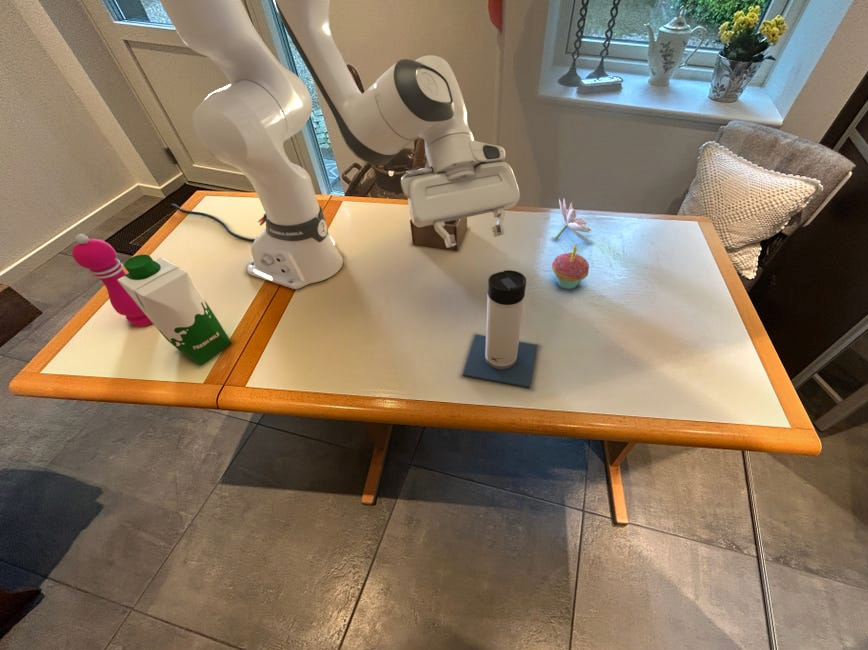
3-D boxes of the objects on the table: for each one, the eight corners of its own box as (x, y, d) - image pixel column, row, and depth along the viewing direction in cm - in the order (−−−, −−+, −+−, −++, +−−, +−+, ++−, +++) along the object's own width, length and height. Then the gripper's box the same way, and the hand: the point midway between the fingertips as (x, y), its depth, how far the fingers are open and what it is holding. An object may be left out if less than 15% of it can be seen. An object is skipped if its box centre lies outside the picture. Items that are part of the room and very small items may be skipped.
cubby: (412, 244, 106) (409, 220, 100) (425, 222, 113) (423, 199, 107) (457, 251, 104) (456, 226, 99) (467, 228, 111) (466, 204, 106)
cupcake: (584, 296, 93) (596, 252, 84) (547, 291, 94) (555, 247, 85) (585, 274, 98) (596, 230, 89) (550, 269, 99) (558, 225, 90)
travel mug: (495, 375, 76) (501, 295, 61) (479, 352, 80) (481, 271, 65) (523, 364, 78) (535, 283, 63) (506, 342, 82) (514, 261, 67)
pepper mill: (174, 310, 88) (111, 228, 73) (146, 332, 84) (74, 249, 68) (148, 302, 89) (82, 221, 74) (119, 323, 85) (43, 241, 70)
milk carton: (211, 326, 85) (155, 244, 70) (239, 342, 82) (186, 261, 67) (172, 351, 80) (102, 270, 65) (200, 370, 77) (133, 289, 62)
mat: (462, 376, 77) (462, 374, 77) (475, 336, 84) (475, 334, 84) (529, 388, 75) (530, 386, 75) (536, 346, 82) (537, 344, 82)
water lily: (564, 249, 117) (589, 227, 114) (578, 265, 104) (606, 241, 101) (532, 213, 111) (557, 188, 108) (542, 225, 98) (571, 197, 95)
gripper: (399, 164, 64) (424, 249, 66) (512, 146, 70) (532, 224, 72) (395, 179, 70) (418, 257, 72) (499, 161, 76) (518, 233, 78)
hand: (476, 240), depth 72 cm, fingers open, 8 cm apart
